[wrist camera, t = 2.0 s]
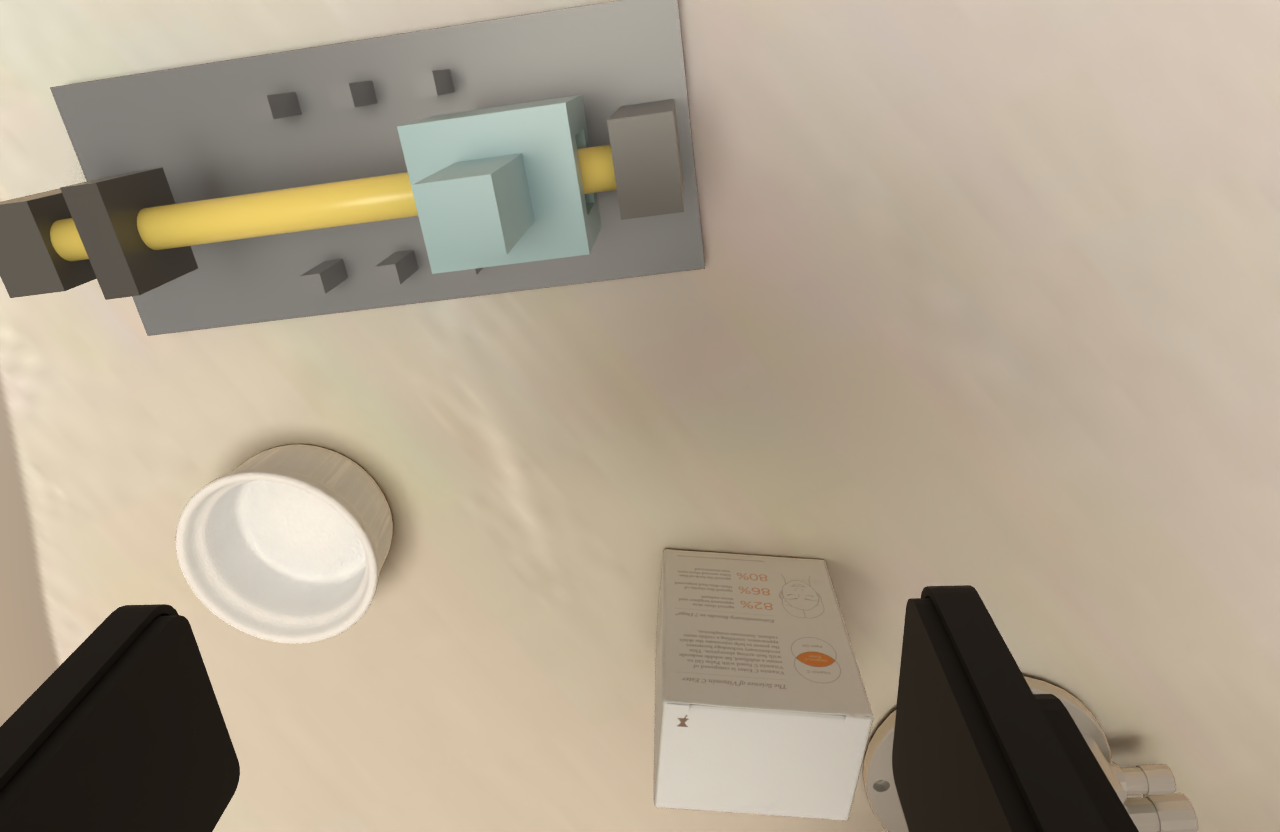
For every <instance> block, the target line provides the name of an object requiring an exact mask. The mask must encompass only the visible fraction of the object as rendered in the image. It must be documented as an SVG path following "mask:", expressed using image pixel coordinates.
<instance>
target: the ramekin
mask: <svg viewBox="0 0 1280 832" xmlns="http://www.w3.org/2000/svg"><path fill="white" fill-rule="evenodd" d="M392 536H393V522H392V515H391V511H390V508H389V505H388V502H387V501H386V498H385V496H384V495H383V493H382V491H381V490H380V488H379V486H378V485H377V483H376V482H375V481H374V480H373V479H372V477H371V476H370V475H369V474H368V473H367V472H366V471H365V470H364V469H363V468H361V467H360V466H359V465H358V464H356V463H355V462H353V461H352V460H350V459H348V458H347V457H345V456H343V455H341V454H339V453H337V452H334V451H332V450H328V449H325V448H322V447H317V446H312V445H301V444H296V445H285V446H279V447H274V448H272V449H269V450H266V451H263V452H261V453H259V454H257V455H255V456H253V457H252V458H250V459H248V460H247V461H246V462H244V463H243V464H241V465H240V466H238V467H237V468H236V469H234V470H233V471H232V472H230V473H229V474H227V475H224V476H221V477H219V478H217V479H215V480H214V481H212V482H210V483H209V484H207V485H206V486H204V487H203V488H201V489H200V490H199V491H198V492H197V493H196V494H195V495H194V496H192V498H191V499H190V500H189V501H188V503H187V504H186V506H185V508H184V509H183V512H182V514H181V516H180V519H179V522H178V526H177V531H176V552H177V558H178V563H179V565H180V568H181V571H182V573H183V575H184V577H185V579H186V581H187V583H188V585H189V586H190V588H191V589H192V591H193V592H194V593H195V595H196V596H197V598H198V599H199V600H200V601H201V602H202V603H203V604H204V605H205V606H206V607H207V608H208V609H209V610H210V611H211V612H212V613H213V614H215V615H216V616H217V617H218V618H220V619H221V620H223V621H224V622H225V623H227V624H229V625H230V626H232V627H234V628H236V629H238V630H240V631H242V632H244V633H247V634H249V635H252V636H254V637H257V638H261V639H264V640H268V641H273V642H277V643H295V644H299V643H312V642H316V641H321V640H325V639H328V638H331V637H334V636H336V635H338V634H340V633H342V632H344V631H345V630H347V629H348V628H350V627H351V626H352V625H354V624H355V623H356V622H357V621H358V620H359V619H361V617H362V616H363V615H364V614H365V612H366V611H367V609H368V608H369V606H370V604H371V602H372V600H373V597H374V595H375V592H376V588H377V584H378V578H379V573H380V571H381V569H382V566H383V564H384V562H385V559H386V557H387V555H388V552H389V549H390V546H391V540H392Z"/></svg>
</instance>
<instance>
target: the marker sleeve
mask: <svg viewBox="0 0 1280 832" xmlns="http://www.w3.org/2000/svg"><path fill="white" fill-rule="evenodd" d="M397 129H398V133H399V137H400V141H401V146H402V150H403V154H404V158H405V162H406V166H407V171H408V175H409V179H410V183H411V187H412V191H413V196H414V200H415V204H416V208H417V212H418V216H419V221H420V225H421V229H422V233H423V237H424V242H425V246H426V250H427V254H428V258H429V262H430V267H431V271H432V274H436V273H444V272H452V271H460V270H468V269H476V268H484V267H492V266H500V265H508V264H516V263H524V262H532V261H541V260H549V259H557V258H565V257H573V256H581V255H589V254H590V252H591V250H592V248H593V245H594V243H595V241H596V238H597V236H598V234H599V232H600V229H601V227H602V224H601V217H600V211H599V204H598V197H597V193H589V194H584V189H583V182H582V176H581V170H580V163H579V157H578V151H577V149H581V148H589V147H590V145H589V138H588V131H587V125H586V118H585V112H584V105H583V98H582V95H576V96H569V97H562V98H555V99H548V100H541V101H534V102H527V103H520V104H513V105H506V106H499V107H492V108H485V109H478V110H471V111H464V112H457V113H450V114H443V115H437V116H433V117H429V118H426V119H422V120H419V121H415V122H411V123H408V124H404V125H401V126H397Z"/></svg>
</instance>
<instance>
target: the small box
mask: <svg viewBox="0 0 1280 832" xmlns="http://www.w3.org/2000/svg"><path fill="white" fill-rule="evenodd" d="M872 721H873V714H872V710H871V707H870V704H869V701H868V698H867V695H866V691H865V688H864V685H863V682H862V678H861V675H860V672H859V668H858V665H857V662H856V659H855V656H854V652H853V649H852V646H851V642H850V639H849V636H848V633H847V630H846V626H845V623H844V620H843V616H842V613H841V610H840V607H839V604H838V600H837V597H836V594H835V591H834V588H833V584H832V581H831V578H830V575H829V572H828V568H827V565H826V562H825V561H824V560H819V559H802V558H787V557H772V556H758V555H743V554H730V553H715V552H698V551H684V550H670V549H665V550H664V552H663V561H662V572H661V582H660V593H659V605H658V618H657V631H656V658H655V728H654V804H655V807H656V808H671V809H685V810H700V811H715V812H730V813H744V814H758V815H772V816H787V817H802V818H814V819H828V820H841V821H846V820H848V818H849V814H850V810H851V806H852V802H853V798H854V794H855V790H856V786H857V782H858V778H859V774H860V770H861V766H862V762H863V758H864V754H865V750H866V745H867V741H868V737H869V733H870V728H871V724H872Z"/></svg>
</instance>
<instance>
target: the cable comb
mask: <svg viewBox="0 0 1280 832" xmlns="http://www.w3.org/2000/svg"><path fill="white" fill-rule="evenodd" d="M50 89H51V91H52V94H53V97H54V99H55V102H56V104H57V107H58V109H59V112H60V114H61V117H62V119H63V122H64V124H65V127H66V130H67V132H68V135H69V137H70V140H71V142H72V145H73V147H74V150H75V152H76V155H77V157H78V160H79V163H80V165H81V168H82V170H83V173H84V175H85V178H86V180H87V182H84V183H79V184H75V185H70V186H66V187H61V188H60V189H55V190H51V191H47V192H42V193H38V194H33V195H29V196H25V197H20V198H16V199H12V200H7V201H3V202H0V276H1V278H2V281H3V283H4V285H5V287H6V289H7V292H8V294H9V296H10V298H14V297H22V296H30V295H37V294H45V293H53V292H61V291H66V290H69V289H71V288H74V287H76V286H79V285H81V284H84V283H86V282H89V281H91V280H94V279H96V278H97V280H98V282H99V285H100V287H101V290H102V292H103V294H104V297H105V299H114V298H122V297H130V296H132V297H133V300H134V302H135V305H136V307H137V310H138V312H139V315H140V317H141V320H142V322H143V325H144V327H145V330H146V333H147V335H148V336H151V335H159V334H167V333H175V332H184V331H192V330H200V329H209V328H217V327H225V326H233V325H242V324H250V323H258V322H266V321H275V320H283V319H291V318H299V317H308V316H316V315H324V314H333V313H341V312H349V311H357V310H366V309H374V308H382V307H390V306H399V305H407V304H415V303H424V302H432V301H440V300H448V299H457V298H465V297H473V296H481V295H490V294H498V293H506V292H515V291H523V290H531V289H539V288H548V287H556V286H564V285H572V284H581V283H589V282H597V281H605V280H614V279H622V278H630V277H639V276H647V275H655V274H663V273H672V272H680V271H688V270H696V269H705V262H704V252H703V243H702V233H701V223H700V214H699V204H698V194H697V185H696V175H695V165H694V156H693V146H692V136H691V127H690V117H689V107H688V97H687V88H686V78H685V68H684V59H683V49H682V39H681V30H680V20H679V10H678V1H677V0H619V1H612V2H606V3H599V4H593V5H586V6H580V7H573V8H566V9H560V10H553V11H547V12H540V13H534V14H527V15H521V16H514V17H508V18H501V19H495V20H488V21H481V22H475V23H468V24H462V25H455V26H449V27H442V28H436V29H429V30H423V31H416V32H410V33H403V34H396V35H390V36H383V37H377V38H370V39H364V40H357V41H351V42H344V43H338V44H331V45H325V46H318V47H311V48H305V49H298V50H292V51H285V52H279V53H272V54H266V55H259V56H253V57H246V58H240V59H233V60H226V61H220V62H213V63H207V64H200V65H194V66H187V67H181V68H174V69H168V70H161V71H155V72H148V73H141V74H135V75H128V76H122V77H115V78H109V79H102V80H96V81H89V82H83V83H76V84H70V85H63V86H56V87H50ZM576 95H582V98H583V105H584V112H585V118H586V125H587V131H588V138H589V145H590V147H589V148H581V149H577V151H578V157H579V163H580V170H581V176H582V182H583V189H584V194H589V193H597V197H598V204H599V211H600V217H601V224H602V227H601V229H600V232H599V234H598V236H597V238H596V241H595V243H594V245H593V248H592V250H591V252H590V254H589V255H581V256H573V257H565V258H557V259H549V260H541V261H532V262H524V263H516V264H508V265H500V266H492V267H484V268H476V269H468V270H460V271H452V272H444V273H436V274H432V271H431V267H430V262H429V258H428V254H427V250H426V246H425V242H424V237H423V233H422V229H421V225H420V221H419V216H418V212H417V208H416V204H415V200H414V196H413V191H412V187H411V183H410V179H409V175H408V171H407V166H406V162H405V158H404V154H403V150H402V146H401V141H400V137H399V133H398V129H397V126H401V125H404V124H408V123H411V122H415V121H419V120H422V119H426V118H429V117H433V116H437V115H443V114H450V113H457V112H464V111H471V110H478V109H485V108H492V107H499V106H506V105H513V104H520V103H527V102H534V101H541V100H548V99H555V98H562V97H569V96H576Z"/></svg>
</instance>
